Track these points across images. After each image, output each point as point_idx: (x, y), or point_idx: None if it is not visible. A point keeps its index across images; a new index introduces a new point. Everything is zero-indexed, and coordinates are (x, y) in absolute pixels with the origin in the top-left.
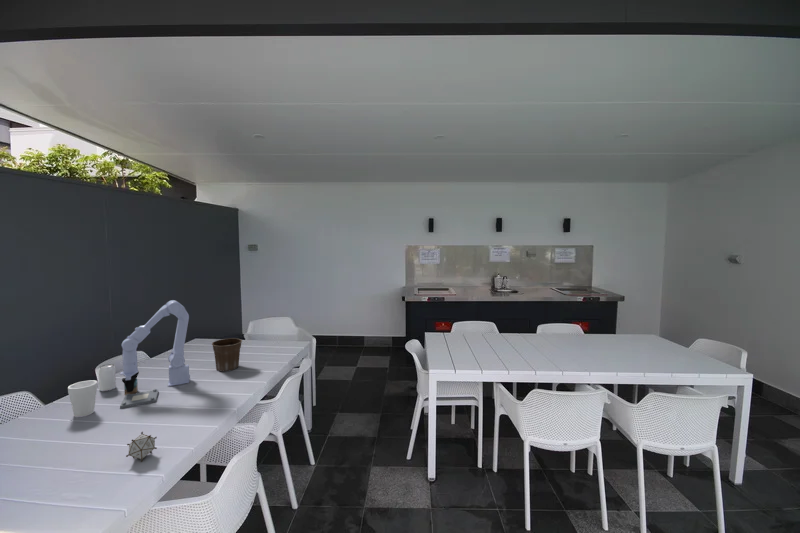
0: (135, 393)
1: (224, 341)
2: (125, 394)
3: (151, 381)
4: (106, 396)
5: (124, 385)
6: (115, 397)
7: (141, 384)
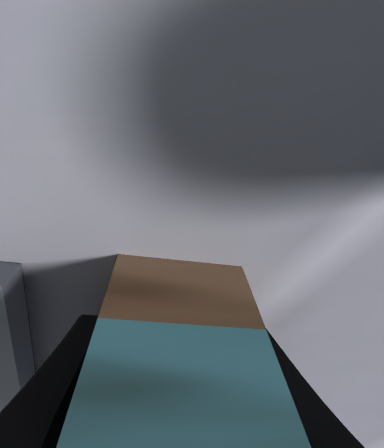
0: (12, 369)
1: None
2: (114, 268)
3: (376, 418)
4: (251, 17)
5: (76, 397)
6: (101, 155)
7: (371, 368)
